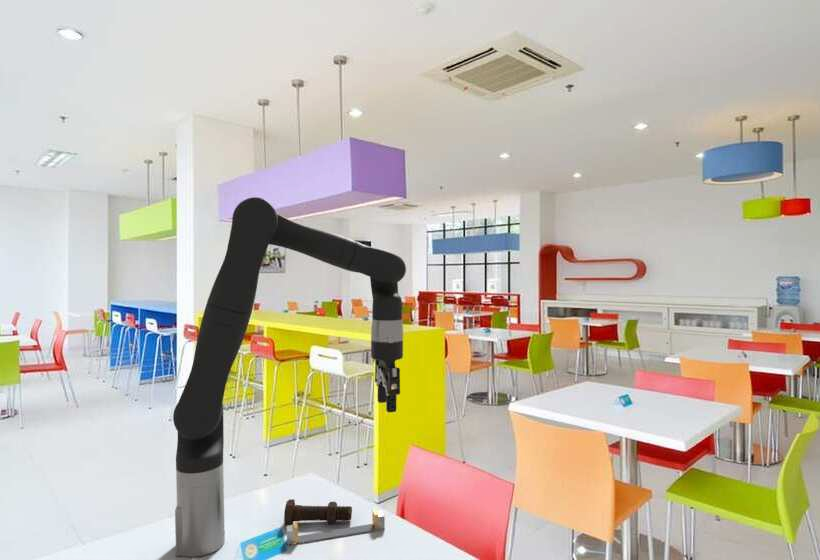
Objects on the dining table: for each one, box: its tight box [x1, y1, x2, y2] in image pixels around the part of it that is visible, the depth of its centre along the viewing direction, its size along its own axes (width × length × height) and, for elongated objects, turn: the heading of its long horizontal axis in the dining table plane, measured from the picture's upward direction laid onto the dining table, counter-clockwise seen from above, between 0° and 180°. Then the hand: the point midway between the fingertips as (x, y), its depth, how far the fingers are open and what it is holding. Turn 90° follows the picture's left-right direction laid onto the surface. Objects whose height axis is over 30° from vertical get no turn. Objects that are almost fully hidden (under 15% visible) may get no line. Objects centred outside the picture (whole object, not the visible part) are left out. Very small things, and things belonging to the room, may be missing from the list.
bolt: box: [283, 498, 353, 528], centre depth 116 cm, size 6×5×15 cm
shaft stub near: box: [286, 521, 299, 546], centre depth 108 cm, size 2×2×4 cm
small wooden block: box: [371, 509, 386, 532], centre depth 113 cm, size 2×2×4 cm
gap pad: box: [298, 523, 376, 544], centre depth 111 cm, size 17×3×1 cm, turn 107°
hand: (386, 406), depth 119 cm, fingers open, 8 cm apart
